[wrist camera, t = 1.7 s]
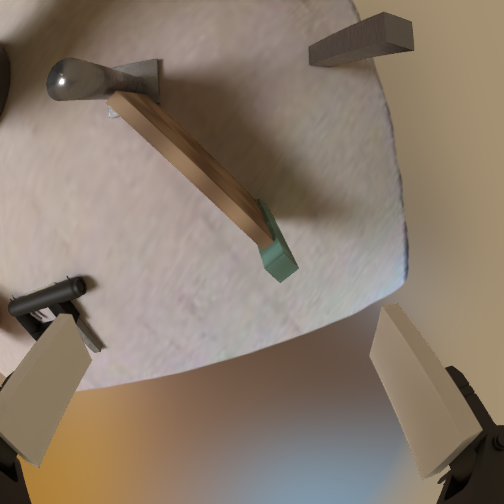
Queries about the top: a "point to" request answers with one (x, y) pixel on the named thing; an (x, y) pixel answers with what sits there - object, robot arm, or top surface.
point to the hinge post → (102, 81)
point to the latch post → (364, 41)
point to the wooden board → (207, 178)
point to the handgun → (52, 308)
